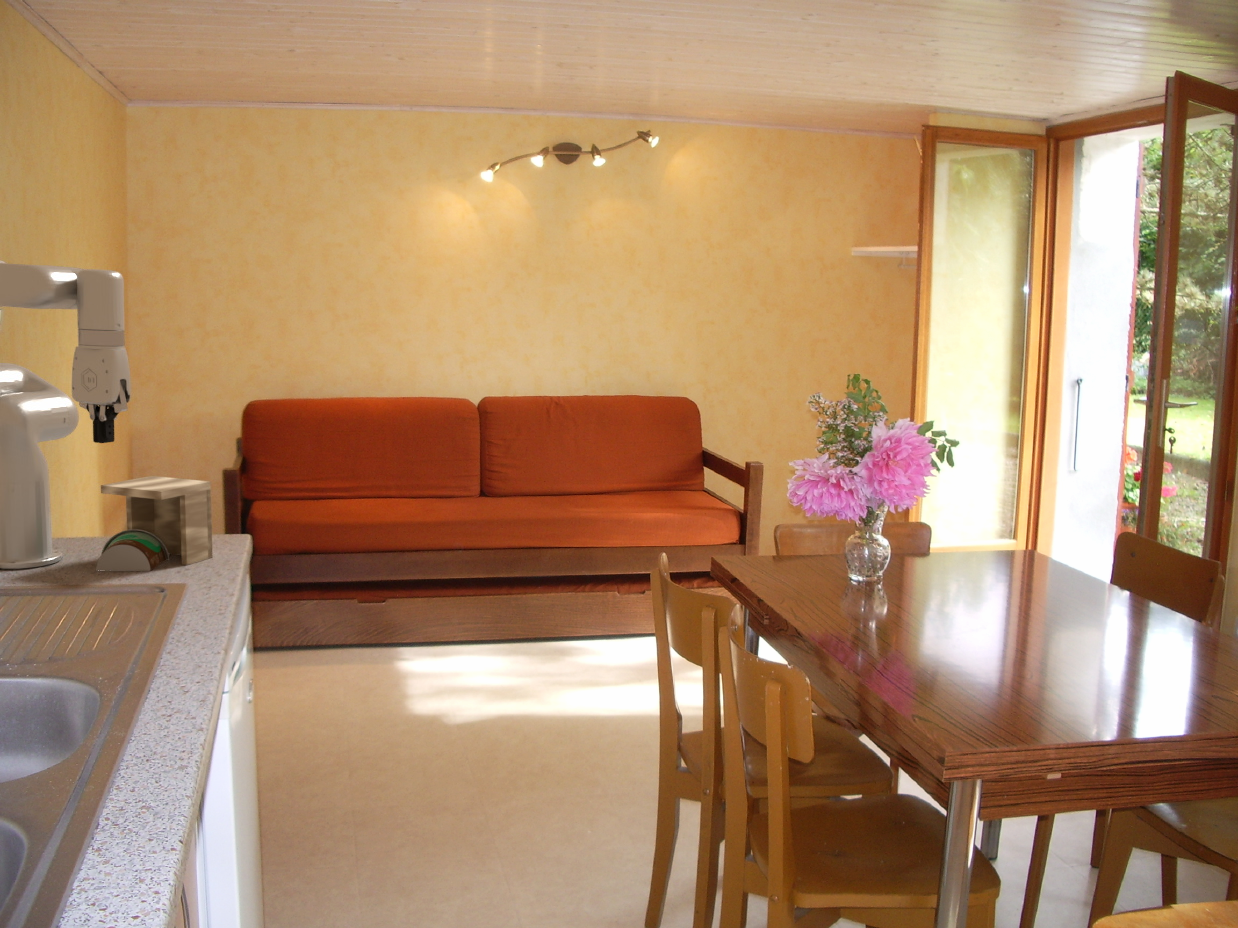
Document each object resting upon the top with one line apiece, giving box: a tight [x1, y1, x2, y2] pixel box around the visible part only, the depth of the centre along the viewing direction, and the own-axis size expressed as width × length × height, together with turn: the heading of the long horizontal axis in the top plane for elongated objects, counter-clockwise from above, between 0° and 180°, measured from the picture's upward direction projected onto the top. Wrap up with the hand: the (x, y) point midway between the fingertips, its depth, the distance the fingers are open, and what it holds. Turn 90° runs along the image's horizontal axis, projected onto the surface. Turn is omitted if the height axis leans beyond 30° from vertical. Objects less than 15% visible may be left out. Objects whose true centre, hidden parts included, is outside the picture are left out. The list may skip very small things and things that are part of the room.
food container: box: [95, 529, 170, 572], centre depth 200 cm, size 12×6×10 cm
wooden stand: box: [100, 475, 214, 566], centre depth 203 cm, size 14×13×15 cm
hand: (103, 441), depth 193 cm, fingers closed
